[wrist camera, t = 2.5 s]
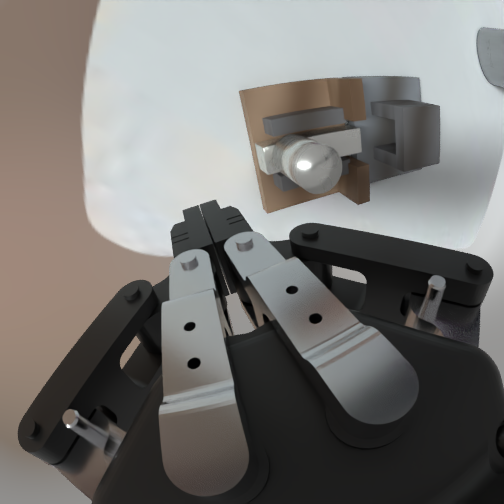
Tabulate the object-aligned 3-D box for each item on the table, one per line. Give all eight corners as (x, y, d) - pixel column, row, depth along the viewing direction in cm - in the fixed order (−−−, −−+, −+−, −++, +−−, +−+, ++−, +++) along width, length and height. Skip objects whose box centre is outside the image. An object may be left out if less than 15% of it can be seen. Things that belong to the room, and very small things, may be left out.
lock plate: (412, 76, 21) (450, 82, 17) (415, 166, 26) (448, 182, 22) (238, 91, 18) (260, 89, 14) (263, 208, 24) (286, 236, 20)
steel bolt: (346, 118, 20) (394, 131, 16) (349, 152, 22) (395, 173, 17) (253, 136, 19) (285, 152, 15) (260, 174, 21) (293, 202, 16)
